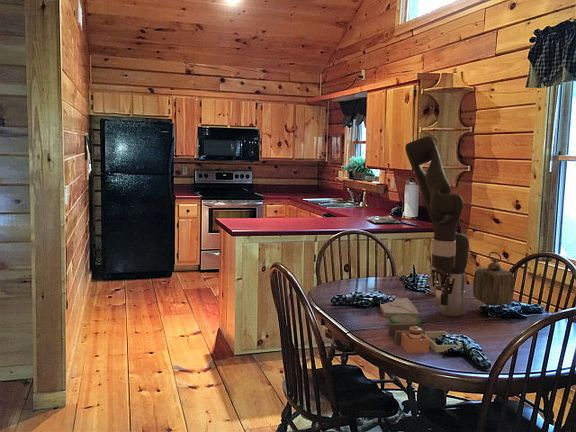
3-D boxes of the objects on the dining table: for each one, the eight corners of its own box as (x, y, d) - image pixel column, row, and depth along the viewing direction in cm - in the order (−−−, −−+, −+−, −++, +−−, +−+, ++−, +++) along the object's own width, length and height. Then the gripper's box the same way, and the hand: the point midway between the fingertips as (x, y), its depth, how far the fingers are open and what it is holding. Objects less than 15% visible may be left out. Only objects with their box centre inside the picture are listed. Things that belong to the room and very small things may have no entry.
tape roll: (384, 325, 204) (385, 319, 204) (399, 319, 212) (400, 312, 212) (410, 332, 197) (411, 325, 196) (425, 325, 205) (425, 319, 204)
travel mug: (445, 293, 250) (447, 251, 247) (441, 296, 244) (443, 253, 242) (432, 291, 253) (434, 249, 251) (427, 294, 248) (430, 251, 245)
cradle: (412, 334, 194) (412, 320, 194) (424, 345, 183) (425, 331, 182) (385, 334, 193) (386, 321, 192) (395, 346, 182) (396, 332, 181)
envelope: (407, 302, 237) (376, 301, 238) (407, 297, 237) (376, 296, 237) (418, 318, 213) (384, 317, 214) (419, 312, 213) (384, 312, 214)
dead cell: (418, 346, 181) (419, 324, 180) (422, 350, 177) (424, 328, 176) (406, 346, 180) (407, 324, 179) (410, 351, 176) (411, 328, 175)
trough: (444, 338, 191) (444, 330, 190) (462, 352, 177) (462, 345, 177) (419, 338, 190) (420, 331, 189) (436, 353, 176) (436, 346, 175)
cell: (433, 303, 184) (434, 281, 183) (444, 303, 185) (445, 281, 184) (437, 306, 180) (439, 284, 179) (449, 306, 181) (450, 284, 180)
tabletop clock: (512, 315, 219) (516, 254, 215) (494, 317, 215) (498, 256, 212) (487, 305, 232) (491, 248, 229) (470, 307, 229) (473, 249, 226)
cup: (420, 346, 182) (421, 332, 182) (428, 354, 175) (429, 339, 175) (400, 346, 181) (401, 332, 181) (408, 354, 175) (408, 340, 174)
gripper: (425, 249, 187) (422, 297, 189) (441, 257, 173) (439, 309, 175) (445, 249, 188) (442, 297, 190) (464, 257, 174) (461, 309, 176)
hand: (441, 302), depth 182 cm, fingers closed on cell, 4 cm apart
